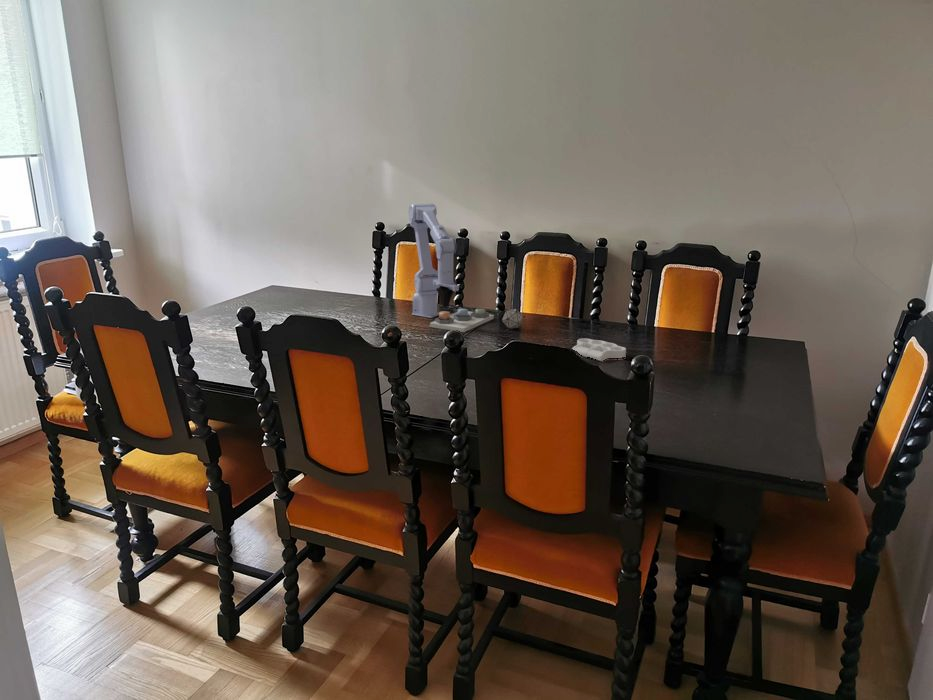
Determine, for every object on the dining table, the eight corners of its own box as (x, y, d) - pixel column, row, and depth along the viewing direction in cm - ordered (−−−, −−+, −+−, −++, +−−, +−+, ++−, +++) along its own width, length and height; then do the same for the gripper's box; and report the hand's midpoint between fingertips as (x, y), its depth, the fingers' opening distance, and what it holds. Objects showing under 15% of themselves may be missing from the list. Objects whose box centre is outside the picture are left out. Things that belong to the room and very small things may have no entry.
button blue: (455, 315, 268) (455, 310, 267) (460, 313, 271) (460, 308, 270) (464, 317, 266) (464, 311, 265) (469, 314, 269) (469, 309, 269)
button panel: (429, 326, 263) (429, 319, 262) (461, 313, 283) (461, 307, 282) (463, 332, 256) (463, 325, 255) (493, 318, 276) (493, 312, 275)
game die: (516, 339, 261) (526, 322, 254) (495, 331, 261) (504, 314, 253) (520, 323, 267) (529, 306, 260) (499, 315, 267) (508, 297, 259)
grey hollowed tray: (563, 353, 234) (588, 345, 244) (608, 365, 222) (633, 356, 232) (563, 344, 233) (588, 335, 243) (609, 355, 221) (633, 346, 231)
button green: (473, 315, 273) (473, 310, 272) (477, 313, 276) (478, 308, 275) (482, 316, 271) (482, 311, 270) (486, 314, 274) (487, 309, 273)
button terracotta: (437, 318, 263) (437, 312, 263) (442, 316, 266) (442, 310, 266) (446, 320, 261) (446, 314, 261) (451, 317, 265) (451, 312, 264)
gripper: (426, 268, 262) (426, 303, 266) (447, 275, 251) (447, 311, 255) (441, 267, 266) (441, 301, 270) (463, 273, 255) (463, 309, 259)
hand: (445, 306), depth 263 cm, fingers closed
